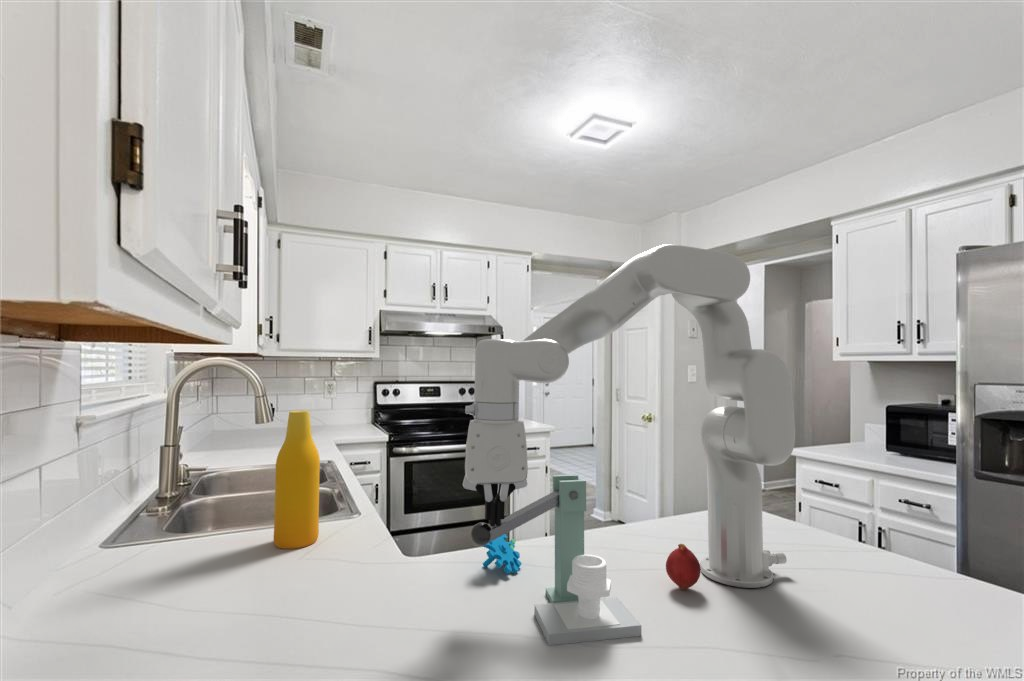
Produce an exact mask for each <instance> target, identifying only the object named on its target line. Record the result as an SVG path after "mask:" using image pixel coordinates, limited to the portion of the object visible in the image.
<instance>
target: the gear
mask: <svg viewBox="0 0 1024 681" xmlns="http://www.w3.org/2000/svg"><path fill="white" fill-rule="evenodd" d="M507 538H508V536H507V533H506V534H504V535H502V536H500V537H498V538H496V539H495V540H493V541H491V542H489V543H488V544H486V545H483V546H482V547H483V548H484V549H485V548H486V549H488V551H486V555H487V557H488V558H487V559H486V560H484V562H482V566H483V567H484V568H488V567H489V566H490V565H491V564H492V563H493V562H494V561H495V562H494V565H495V567H496V568H498V569H500V568H502V566H503V565H504V566H505V567H503V571H504V572H505V573H506V574H511V573H513V574H516V573H518V572H519V570H520V569H519V567H521V566H522V562H521V560H519V559H520V557H521V555H520V552H519V551H517V550H515V547H516V545H515V544H516V541H515V539H514V538H511V539H510V540H509V541H506V540H507Z"/></svg>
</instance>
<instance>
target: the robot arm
mask: <svg viewBox="0 0 1024 681" xmlns="http://www.w3.org/2000/svg"><path fill="white" fill-rule="evenodd" d="M750 284H751V273H750V269H749V267H748V266H747V264H746V263H745V262H744V260H743V259H742V258H740V257H739V256H737V255H735V254H732V253H729V252H725V251H719V250H711V249H706V248H705V249H704V248H700V247H694V246H687V245H680V244H662V245H659V246H656V247H653V248H651V249H649V250H647V251H644V252H642V253H638V254H637V255H635V256H633V257H631V258H630V259H629V260H627V261H626V262H624V264H622V265H621V266H620V267H619V268H617V269H616V270H614V271H613V272H612V273H611V274H609V276H607V277H606V278H604V280H602V281H601V282H600V283H598V284H597V285H596V286H594V287H593V288H592V289H590V290H589V291H588V292H586V293H585V294H584V295H582V296H580V297H579V298H578V299H576V300H575V301H574V302H572V303H571V304H570V305H569V306H567V307H566V308H564V309H563V310H562V311H560V312H559V313H557V314H556V315H555V316H554V317H551V319H549V320H548V321H547V322H545V323H544V324H542V325H541V326H540V327H538V328H537V329H536V330H535V331H533V332H531V333H530V334H529V335H528V336H527V337H525V338H524V339H523V340H514V339H513V340H512V339H506V338H504V339H503V338H502V339H501V338H488V339H487V338H486V339H482V340H481V339H480V340H479V341H478V342H477V344H476V345H475V351H474V352H475V354H474V356H475V357H474V358H475V359H474V360H475V361H474V395H473V396H474V401H473V403H472V404H469V405H465V410H464V411H465V414H466V415H468V414H469V415H472V416H473V419H470V420H469V425H468V429H467V437H466V442H465V443H466V445H465V455H464V474H465V475H464V477H463V481H462V486H463V487H462V488H464V489H466V490H470V491H475V492H477V493H478V494H479V495H480V496H482V498H483V499H484V518H485V521H488V525H489V526H491V527H493V526H495V524H496V525H497V526H501V519H504V518H505V503H506V502H505V501H507V499H508V497H509V496H510V495H511V494H512V493H513V492H514V491H515V490H519V489H523V488H527V486H528V480H527V478H528V474H529V473H528V472H529V471H528V466H529V465H528V452H527V451H528V447H527V446H528V445H527V434H526V429H525V422H524V421H522V420H520V419H519V417H520V416H519V415H520V381H523V382H524V381H525V382H529V383H530V382H531V383H537V384H550V383H555V382H557V381H558V380H560V379H561V378H562V377H564V375H565V374H566V372H567V370H568V369H569V366H570V358H569V354H571V353H572V352H574V351H576V350H577V349H579V348H581V347H583V346H585V345H587V344H589V343H592V342H595V341H598V340H600V339H603V338H605V337H607V336H609V335H611V334H613V333H614V332H616V331H617V330H619V329H620V328H621V327H622V326H623V325H624V324H625V323H627V322H628V321H630V320H631V319H632V318H633V317H634V316H635V315H637V314H638V313H639V312H640V311H642V309H644V308H645V307H646V306H648V304H650V303H651V302H653V301H654V300H656V299H657V298H658V297H660V296H665V295H672V298H673V299H674V300H675V301H676V302H677V303H678V304H679V305H680V306H682V307H683V308H685V309H686V310H687V311H688V312H690V313H691V315H693V317H694V319H696V322H697V323H698V326H699V328H700V330H701V338H702V347H703V348H702V349H703V362H704V375H705V376H704V377H705V378H704V379H705V383H706V388H707V389H708V392H710V394H712V395H713V396H715V397H717V398H719V399H723V400H729V401H738V402H743V406H742V407H741V406H740V407H739V406H733V405H731V406H729V405H728V406H727V405H725V406H717V407H716V408H714V409H712V410H710V411H709V412H707V414H706V415H705V416H704V418H703V419H702V424H701V428H700V430H701V431H700V435H701V441H702V442H701V443H702V446H703V450H704V456H705V463H706V476H707V477H706V478H707V479H706V480H707V481H706V482H707V537H708V538H707V539H708V548H707V549H708V557H705V558H703V559H702V560H700V561H699V564H700V568H701V572H700V573H702V574H703V575H704V576H705V577H707V578H709V580H713V581H715V582H717V583H720V584H723V585H726V586H730V587H731V586H732V587H736V588H743V589H745V588H746V589H758V588H764V587H768V586H769V585H771V584H772V583H773V582H774V575H773V574H774V573H773V571H772V570H771V569H770V568H769V567H772V565H783V564H787V556H786V554H785V553H784V552H773V553H771V551H770V550H769V549H764V538H763V537H764V536H763V535H764V533H763V532H764V531H763V488H762V487H763V486H762V485H763V483H762V479H761V474H760V471H759V468H758V464H759V465H763V466H770V467H771V466H772V467H773V466H779V465H781V464H784V463H785V462H786V461H787V460H788V459H789V458H791V455H792V454H793V451H794V449H795V442H796V424H795V421H796V420H795V410H794V409H795V408H794V396H793V394H794V393H793V385H792V384H793V383H792V376H791V373H790V370H789V368H788V366H787V364H786V363H785V361H784V360H783V359H782V358H781V356H779V355H778V354H777V353H775V352H773V351H771V350H768V349H761V348H759V349H758V348H757V349H755V348H753V349H752V342H751V334H750V327H749V322H748V319H747V316H746V313H745V312H744V310H743V309H742V307H741V306H740V305H739V303H738V302H737V301H736V300H738V299H740V298H742V296H744V295H745V294H746V292H747V291H748V289H749V286H750ZM492 485H498V487H497V494H495V497H494V495H493V490H492Z"/></svg>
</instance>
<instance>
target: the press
mask: <svg viewBox="0 0 1024 681" xmlns="http://www.w3.org/2000/svg"><path fill="white" fill-rule="evenodd" d="M558 489H559V505H558V506H556V507H554V586H553V587H545V596H546V597H547V599H548V601H549V602H548V603H547V602H545V603H539V604H536V603H535V604H534V605H533V606H534V610H533V611H534V616H535V618H536V620H537V622H538V625H539V627H540V629H541V632H542V633H543V635H544V638H545V641H546V642H547V645H548V646H555V645H556V646H557V645H564V644H574V643H584V642H594V641H603V640H604V641H605V640H613V639H623V638H633V637H642V624H641V623H640V621H638V620H637V618H636V617H635V616H634V614H632V612H631V611H630V610H629V609H628V607H627V606H626V605H625V604H624V603H623V602H622V601H621V599H619V597H618V596H616V597H608V598H607V597H603V598H600V616H599V617H598V618H596V619H585V618H583V617H581V616H580V615H579V608H578V604H579V599H578V596H577V595H575V594H573V593H570V592H568V591H567V583H568V580H569V578H570V575H572V560H573V559H574V558H575V557H576V556H579V555H585V512H587V480H585V479H579V474H556V475H554V474H553V475H552V492H554V491H556V490H558Z"/></svg>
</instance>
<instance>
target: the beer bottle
mask: <svg viewBox="0 0 1024 681" xmlns="http://www.w3.org/2000/svg"><path fill="white" fill-rule="evenodd" d="M286 426H287V427H286V434H285V437H284V438H285V439H284V441H283V444H282V445H281V447H280V449H279V451H278V454H277V458H276V462H275V479H274V480H275V483H274V484H275V485H274V486H275V489H274V490H275V491H274V519H273V520H274V521H273V522H274V523H273V526H274V527H273V543H274V545H275V547H277V548H279V549H283V550H293V549H295V550H296V549H300V548H305V547H309V546H310V545H313V544H314V543H316V542H317V540H318V539H319V532H320V531H319V530H320V529H319V526H320V524H319V523H320V521H319V519H320V518H319V517H320V516H319V515H320V514H319V512H320V509H319V508H320V472H321V470H320V468H321V466H320V465H321V459H320V454H319V451H318V448H317V446H316V444H315V443H314V442H315V441H314V439H313V436H312V428H311V427H312V425H311V416H310V411H309V410H291V411H289V414H288V419H287V425H286Z"/></svg>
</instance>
